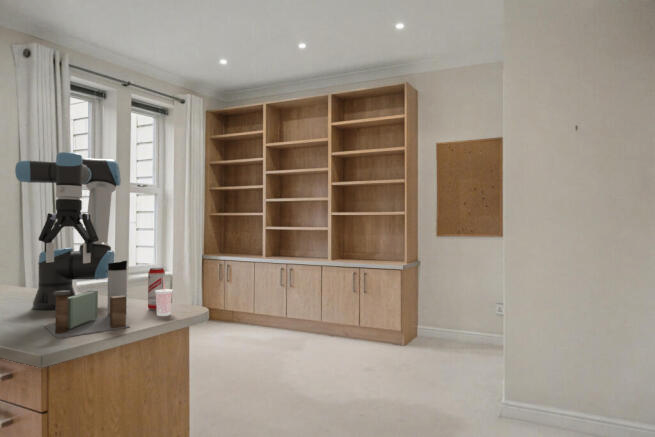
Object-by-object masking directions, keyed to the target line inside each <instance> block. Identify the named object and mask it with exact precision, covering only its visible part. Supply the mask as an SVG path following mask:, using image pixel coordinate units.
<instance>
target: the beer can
mask: <svg viewBox="0 0 655 437" xmlns="http://www.w3.org/2000/svg"><path fill="white" fill-rule="evenodd" d="M163 277H165V278H166V271H165V270H164V267H151V268H150V267H149V271H148V272H147V309H148V310H150V311H157V305H156V293H155V290H160V289H163Z"/></svg>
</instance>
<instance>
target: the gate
mask: <svg viewBox="0 0 655 437" xmlns="http://www.w3.org/2000/svg"><path fill="white" fill-rule="evenodd" d="M98 296H99V291H98V290H87V291H86V292H81V293H78V294H75V295H74V296H71V297H68V329H71V328H73V327H74V326H77V325H79V324H82V323H85V322H87V321H90V320H92V319H97V318H99V317H98V316H99V315H98V314H99V312H98V310H99V309H98V308H99V306H98V305H99V303H98V302H99V301H98V300H99V297H98Z"/></svg>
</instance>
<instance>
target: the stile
mask: <svg viewBox="0 0 655 437" xmlns="http://www.w3.org/2000/svg"><path fill="white" fill-rule="evenodd" d="M126 311H127V310H126V296H114V297H110V327H111V328H119V327H125V326H126V325H127V313H126Z"/></svg>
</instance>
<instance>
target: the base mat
mask: <svg viewBox="0 0 655 437" xmlns="http://www.w3.org/2000/svg"><path fill="white" fill-rule="evenodd" d="M44 327H45V328H46V329H47V330H48V331H49V332H50V333H51V334H53V336H54V337H56V338H57V339H65V338H70V337H71V338H72V337H79V336H84V335H85V336H86V335H89V334H97V333H103V332H111V331H116V330H122V329H129V328H131V327H130V325H128V324H126V326H125V327H119V328H111V327H110V316H104V317H98V318H97V319H92V320H90V321H87V322H85V323H82V324H79V325H77V326H74V327H73V328H71V329H68V332H66V333H61V334H57V333H55V323H51V324H45V325H44Z"/></svg>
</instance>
